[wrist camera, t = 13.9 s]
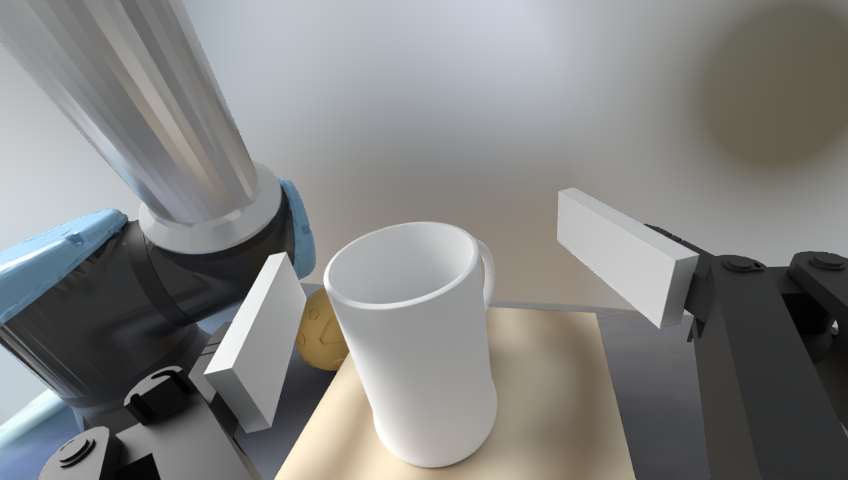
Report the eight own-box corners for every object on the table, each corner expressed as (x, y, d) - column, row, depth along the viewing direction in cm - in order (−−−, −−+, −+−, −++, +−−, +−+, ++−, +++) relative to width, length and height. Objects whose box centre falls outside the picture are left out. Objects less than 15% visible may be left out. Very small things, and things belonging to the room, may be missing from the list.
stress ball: (366, 327, 46) (298, 301, 43) (397, 287, 41) (322, 256, 38) (350, 396, 39) (267, 370, 36) (386, 359, 33) (291, 325, 30)
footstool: (299, 611, 22) (232, 550, 17) (399, 366, 38) (379, 300, 33) (647, 765, 15) (698, 736, 10) (586, 389, 32) (595, 312, 27)
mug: (466, 315, 29) (449, 192, 23) (552, 370, 23) (558, 219, 17) (352, 402, 23) (294, 265, 18) (426, 506, 17) (372, 346, 11)
